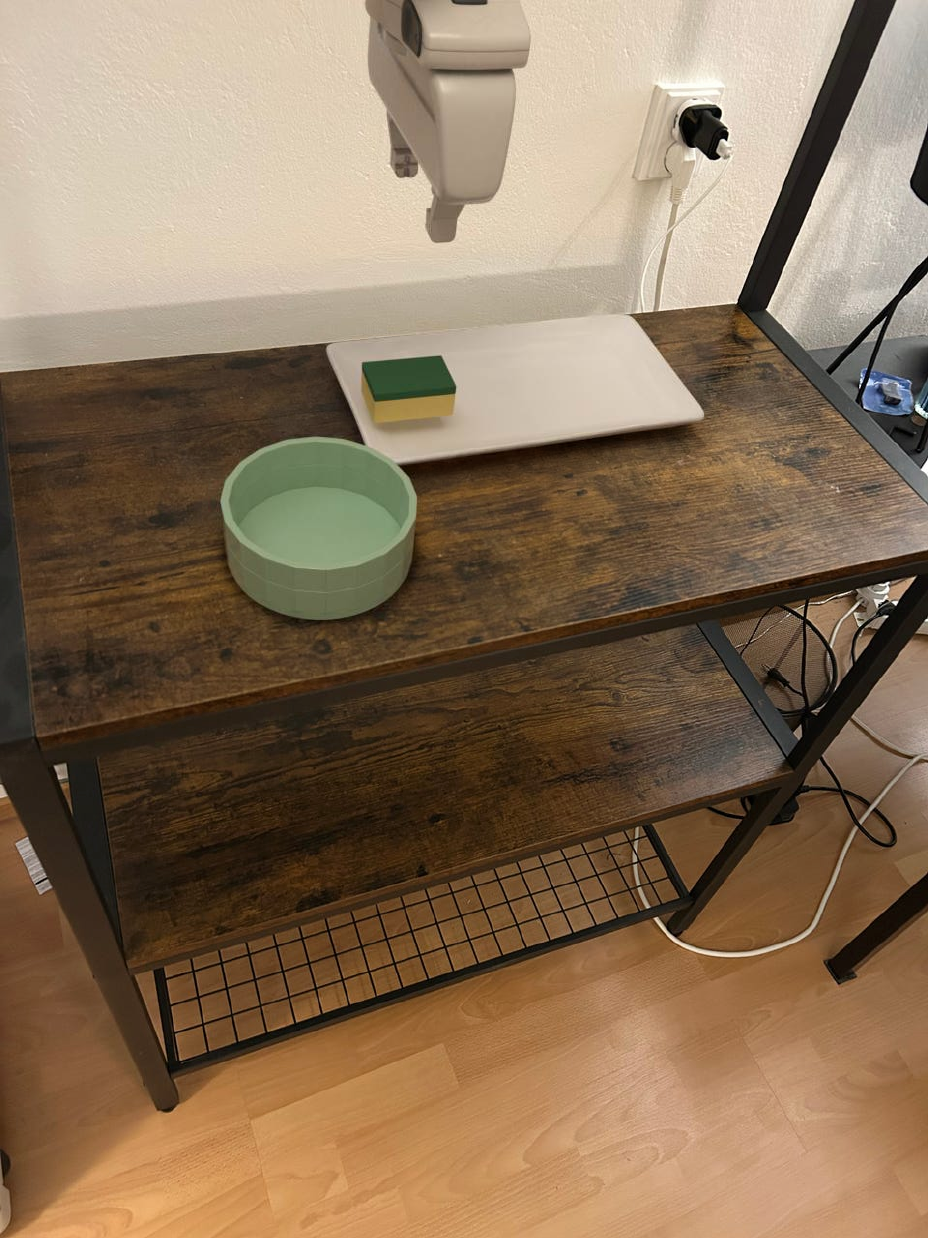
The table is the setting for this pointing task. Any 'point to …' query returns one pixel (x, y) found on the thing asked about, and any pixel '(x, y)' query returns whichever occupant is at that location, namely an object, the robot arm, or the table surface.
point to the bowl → (318, 527)
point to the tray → (524, 387)
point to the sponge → (407, 388)
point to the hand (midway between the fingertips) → (420, 204)
